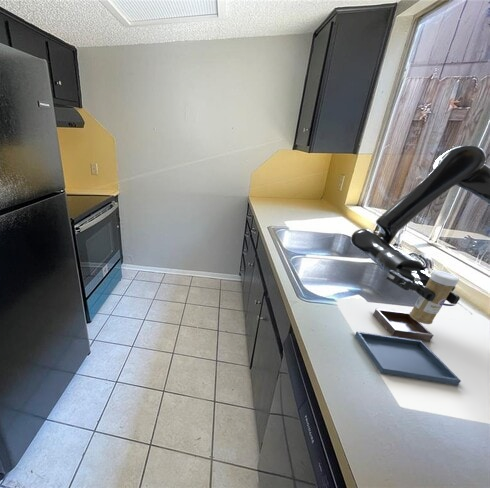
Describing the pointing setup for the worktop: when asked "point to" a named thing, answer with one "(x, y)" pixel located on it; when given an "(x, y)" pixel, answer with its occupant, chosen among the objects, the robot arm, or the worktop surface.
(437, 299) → the sprinkles bottle
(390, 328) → the bin
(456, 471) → the worktop surface
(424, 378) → the tray
